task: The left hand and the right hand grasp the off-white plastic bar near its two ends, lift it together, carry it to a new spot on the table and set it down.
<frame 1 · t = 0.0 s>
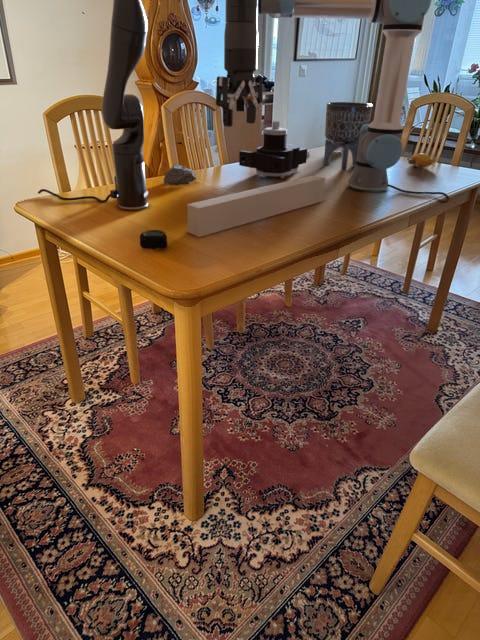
left hand: (239, 124, 110), 29 cm above the table, tool pointing down, fingers open, 8 cm apart
right hand: (241, 109, 155), 28 cm above the table, tool pointing down, fingers open, 13 cm apart
bar: (262, 215, 144), on the table
tape measure: (155, 248, 118), on the table
mechanical component: (280, 173, 196), on the table
toy: (418, 166, 216), on the table
planter: (341, 167, 211), on the table
figurine: (341, 151, 245), on the table
rock: (181, 183, 178), on the table
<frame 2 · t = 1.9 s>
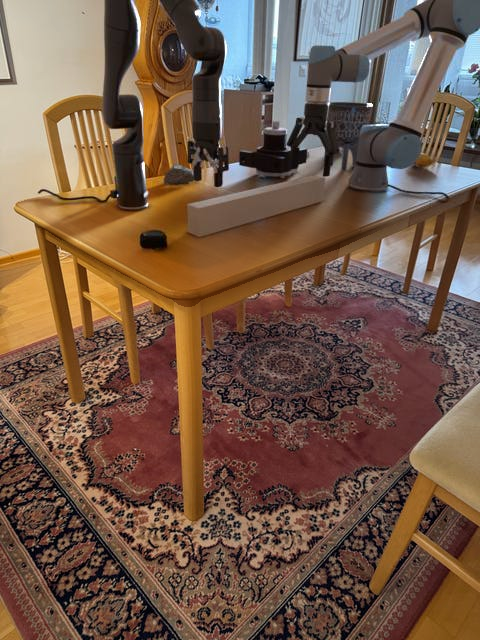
left hand: (207, 183, 124), 13 cm above the table, tool pointing down, fingers open, 8 cm apart
right hand: (309, 172, 153), 10 cm above the table, tool pointing down, fingers open, 13 cm apart
nothing on the table moved.
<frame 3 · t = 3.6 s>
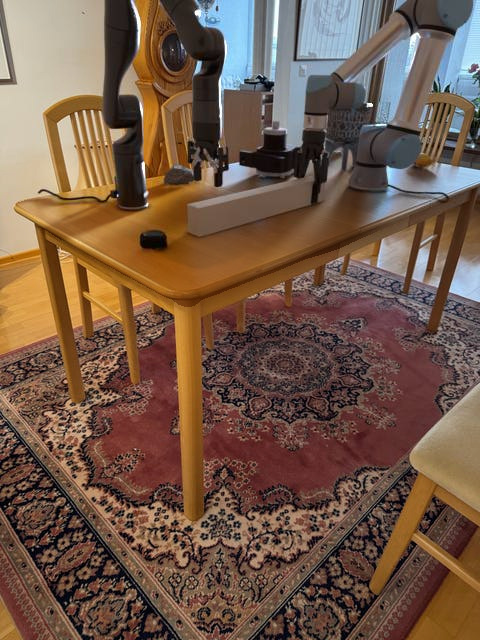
left hand: (207, 183, 124), 13 cm above the table, tool pointing down, fingers open, 8 cm apart
right hand: (307, 200, 158), 1 cm above the table, tool pointing down, fingers closed on bar, 5 cm apart
bar: (262, 215, 144), on the table, touching right hand
everything else where it was.
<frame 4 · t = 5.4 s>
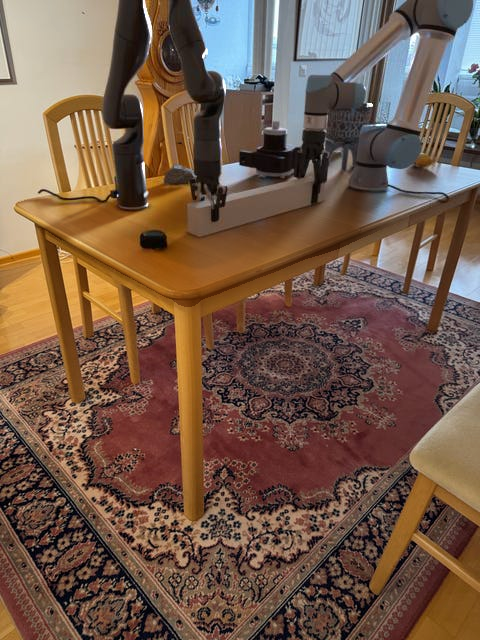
left hand: (208, 218, 129), 4 cm above the table, tool pointing down, fingers closed on bar, 5 cm apart
right hand: (307, 200, 158), 1 cm above the table, tool pointing down, fingers closed on bar, 5 cm apart
bar: (262, 215, 144), on the table, touching right hand, left hand
everything else where it was.
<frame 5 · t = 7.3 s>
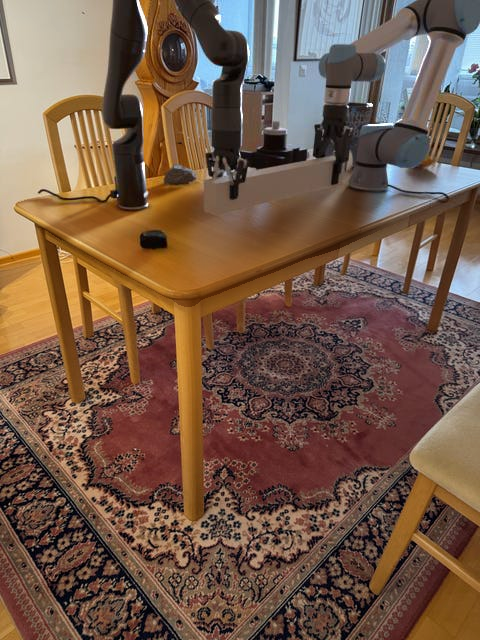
left hand: (226, 196, 119), 12 cm above the table, tool pointing down, fingers closed on bar, 5 cm apart
right hand: (327, 182, 148), 9 cm above the table, tool pointing down, fingers closed on bar, 5 cm apart
bar: (281, 195, 135), point 8 cm above the table, touching right hand, left hand
everything else where it was.
when the right hand's fingers open (2 cm above the table, at t = 9.1 s): bar drops 1 cm, on the table.
when the left hand's fingers open (4 cm above the table, at t = 9.3 s): bar stays where it is, on the table.
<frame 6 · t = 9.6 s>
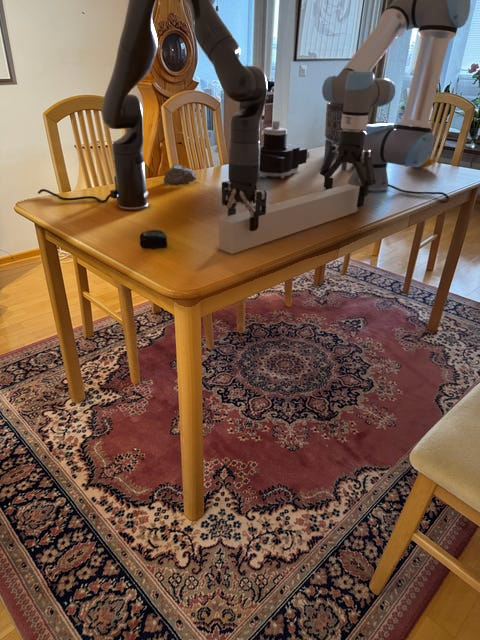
left hand: (242, 226, 117), 5 cm above the table, tool pointing down, fingers open, 7 cm apart
right hand: (343, 202, 146), 4 cm above the table, tool pointing down, fingers open, 12 cm apart
bar: (296, 228, 134), on the table
everything else where it was.
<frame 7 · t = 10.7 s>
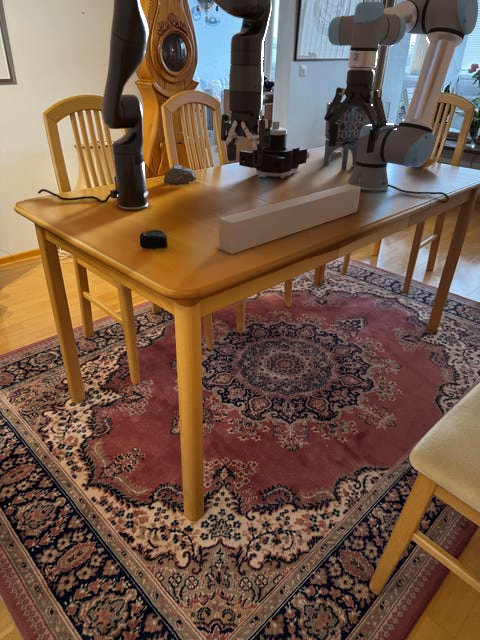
left hand: (244, 163, 109), 21 cm above the table, tool pointing down, fingers open, 8 cm apart
right hand: (350, 149, 138), 20 cm above the table, tool pointing down, fingers open, 13 cm apart
nothing on the table moved.
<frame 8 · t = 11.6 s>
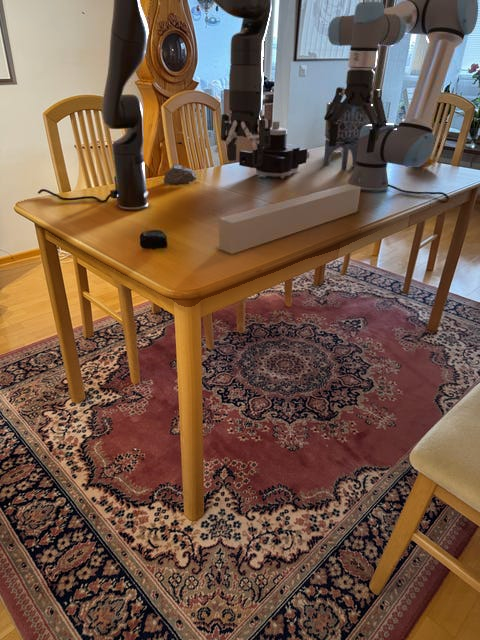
left hand: (244, 163, 109), 21 cm above the table, tool pointing down, fingers open, 8 cm apart
right hand: (350, 149, 138), 20 cm above the table, tool pointing down, fingers open, 13 cm apart
nothing on the table moved.
at the end: bar inside the target area (0.3 cm from its centre), on the table; bar tilted 0°; bar never tilted more than 2° during the clip; both hands held the bar at the same time; the left hand is holding nothing; the right hand is holding nothing; bar at rest at the end (0.0 cm/s) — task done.
